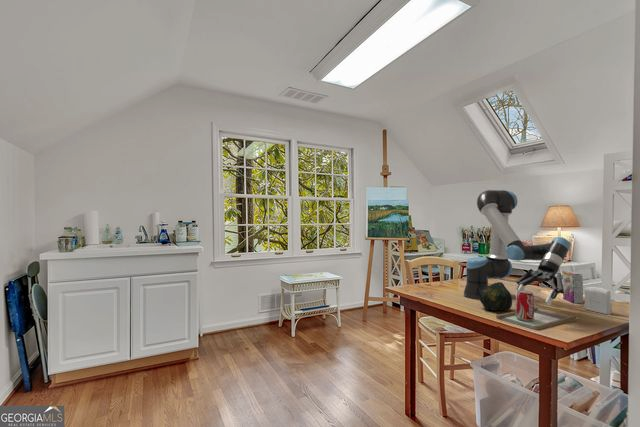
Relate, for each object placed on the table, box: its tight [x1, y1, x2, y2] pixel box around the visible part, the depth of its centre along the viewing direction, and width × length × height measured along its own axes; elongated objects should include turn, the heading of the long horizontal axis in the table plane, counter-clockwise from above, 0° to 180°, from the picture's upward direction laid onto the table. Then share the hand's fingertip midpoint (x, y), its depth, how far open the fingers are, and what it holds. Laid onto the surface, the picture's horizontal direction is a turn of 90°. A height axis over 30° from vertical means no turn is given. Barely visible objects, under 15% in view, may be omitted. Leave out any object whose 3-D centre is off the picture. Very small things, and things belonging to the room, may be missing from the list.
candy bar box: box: [561, 270, 584, 305], centre depth 179 cm, size 11×5×16 cm, turn 168°
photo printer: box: [584, 286, 612, 316], centre depth 158 cm, size 10×4×12 cm, turn 25°
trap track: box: [495, 306, 577, 331], centre depth 147 cm, size 18×31×2 cm, turn 116°
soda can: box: [515, 289, 535, 322], centre depth 146 cm, size 7×7×13 cm
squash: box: [479, 281, 513, 312], centre depth 164 cm, size 14×15×15 cm
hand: (531, 300), depth 145 cm, fingers open, 13 cm apart
